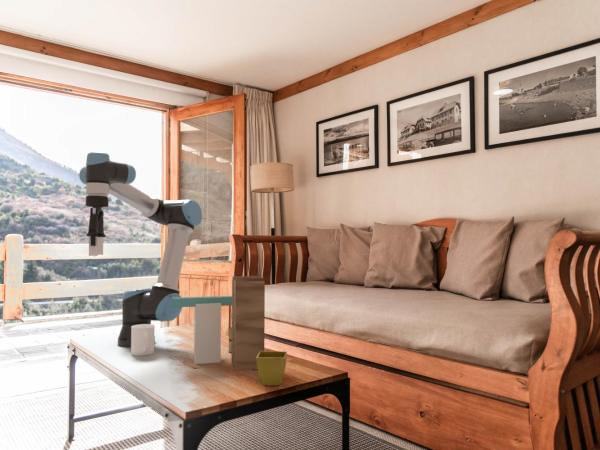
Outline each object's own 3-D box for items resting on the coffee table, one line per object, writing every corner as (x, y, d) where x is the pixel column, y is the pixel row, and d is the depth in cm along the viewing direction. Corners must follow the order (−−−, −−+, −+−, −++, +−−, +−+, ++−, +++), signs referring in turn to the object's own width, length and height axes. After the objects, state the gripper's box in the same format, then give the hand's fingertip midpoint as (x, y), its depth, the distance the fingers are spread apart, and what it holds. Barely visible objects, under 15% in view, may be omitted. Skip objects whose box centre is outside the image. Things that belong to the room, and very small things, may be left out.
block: (172, 306, 171) (172, 297, 171) (240, 304, 177) (240, 295, 177) (172, 307, 168) (172, 298, 168) (241, 305, 174) (241, 296, 174)
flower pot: (259, 379, 148) (259, 350, 148) (286, 379, 148) (287, 351, 148) (255, 388, 139) (256, 357, 140) (285, 388, 139) (285, 357, 139)
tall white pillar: (194, 358, 174) (194, 301, 175) (218, 357, 177) (218, 300, 178) (195, 364, 167) (195, 304, 167) (220, 362, 169) (221, 303, 170)
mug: (134, 359, 174) (135, 330, 174) (129, 352, 184) (129, 325, 184) (158, 356, 178) (158, 328, 178) (151, 350, 188) (151, 323, 189)
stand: (231, 363, 167) (232, 276, 168) (258, 361, 170) (259, 275, 171) (235, 371, 157) (235, 278, 159) (264, 369, 160) (264, 277, 161)
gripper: (91, 198, 178) (90, 254, 178) (79, 191, 154) (78, 256, 154) (112, 199, 180) (111, 254, 180) (103, 192, 156) (102, 256, 156)
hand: (96, 255), depth 167 cm, fingers open, 13 cm apart
